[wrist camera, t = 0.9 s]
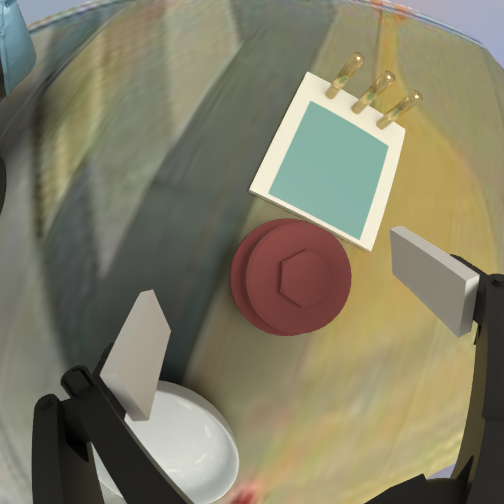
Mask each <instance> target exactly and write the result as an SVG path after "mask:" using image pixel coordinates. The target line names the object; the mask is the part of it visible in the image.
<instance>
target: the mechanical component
mask: <svg viewBox="0 0 504 504" xmlns="http://www.w3.org/2000/svg"><path fill="white" fill-rule="evenodd" d="M229 282H230V289H231V294H232V296H233V299H234V302H235V303H236V305H237V307H238V309H239V310H240V312H241V313H242V314H243V315H244V317H245V318H246V319H247V320H248V321H249V322H251V323H252V324H253V325H254V326H256V327H257V328H259V329H261V330H263V331H265V332H267V333H270V334H274V335H280V336H294V335H299V334H302V333H308V332H312V331H315V330H318V329H320V328H322V327H324V326H325V325H327V324H328V323H330V322H331V321H332V320H333V319H334V318H335V317H336V316H337V315H338V314H339V313H340V311H341V310H342V308H343V307H344V305H345V303H346V301H347V298H348V295H349V292H350V287H351V267H350V263H349V259H348V257H347V254H346V252H345V250H344V248H343V247H342V245H341V244H340V243H339V241H338V240H337V239H336V238H335V237H334V236H333V235H332V234H331V233H329V232H328V231H326V230H325V229H323V228H321V227H319V226H316V225H313V224H310V223H308V222H305V221H302V220H297V219H277V220H273V221H270V222H267V223H265V224H263V225H261V226H259V227H258V228H256V229H255V230H253V231H252V232H251V233H250V234H249V235H247V236H246V237H245V238H244V240H243V241H242V242H241V243H240V245H239V246H238V248H237V250H236V251H235V254H234V256H233V259H232V262H231V266H230V273H229Z"/></svg>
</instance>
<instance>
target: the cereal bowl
mask: <svg viewBox="0 0 504 504" xmlns="http://www.w3.org/2000/svg"><path fill="white" fill-rule="evenodd" d="M124 420H125V422H126V423H127V424H128V425H129V427H130V428H131V430H132V431H133V432H134V434H135V435H136V436H137V438H138V439H139V440H140V442H141V443H142V444H143V446H144V447H145V448H146V449H147V451H148V452H149V453H150V454H151V456H152V457H153V458H154V459H155V461H156V462H157V463H158V464H159V465H160V467H161V468H162V469H163V470H164V471H165V472H166V474H167V475H168V476H169V477H170V478H171V479H172V480H173V481H174V483H175V484H176V485H177V486H178V487H179V488H180V489H181V490H182V491H183V492H184V493H185V494H186V495H187V496H188V497H189V499H190V500H191V501H192V502H193V503H194V504H210V503H212V502H214V501H216V500H217V499H219V498H220V497H222V496H223V495H224V494H225V493H226V492H227V491H228V490H229V489H230V488H231V486H232V485H233V483H234V482H235V480H236V477H237V474H238V471H239V451H238V447H237V444H236V440H235V438H234V434H233V432H232V430H231V428H230V426H229V425H228V422H227V421H226V420H225V418H224V417H223V416H222V415H221V413H220V412H219V411H218V410H217V409H216V408H215V407H214V406H213V405H212V404H211V403H210V402H209V401H207V400H206V399H205V398H203V397H202V396H200V395H198V394H197V393H195V392H194V391H192V390H190V389H187V388H186V387H182V386H180V385H177V384H175V383H170V382H167V381H161V380H158V383H157V387H156V392H155V396H154V400H153V404H152V409H151V413H150V418H149V421H135V422H133V421H132V420H131V418H130V417H129V416H128V414H127V413H126V416H125V419H124ZM91 443H92V442H91ZM92 449H93V455H94V460H95V465H96V470H97V474H98V479H99V480H100V481H101V482H102V483H103V484H104V485H105V486H106V487H108V488H109V489H110V490H112V491H113V492H114V493H116V494H117V495H119V496H121V497H123V496H122V495H121V493H120V491H119V490H118V488H117V487H116V485H115V483H114V482H113V480H112V478H111V477H110V475H109V473H108V472H107V470H106V468H105V466H104V465H103V463H102V461H101V459H100V457H99V456H98V454H97V452H96V450H95V448H94V446H93V444H92Z"/></svg>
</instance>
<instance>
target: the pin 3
mask: <svg viewBox="0 0 504 504" xmlns="http://www.w3.org/2000/svg"><path fill="white" fill-rule="evenodd" d="M422 99H423V97H422V95H421V93H420V92H419V91H417V90H414V91H413V92H412V93H410V94H409V95H408V96H407V97H406V98H404V99H403V100H402V101H401V102H399V103H398V104H397V105H396V106H395V107H393V108H392V109H391V110H390V111H389V112H387V113H386V114H385V115H384V116H383V117H381V118H380V119H379V120H378V121H377V122H376V125H377V127H378V128H379V129H381V130H383V129H384V128H386V127H387V126H388V125H390V124H391V123H392V122H394V121H395V120H396V119H398V118H399V117H400V116H402V115H403V114H404V113H405V112H407V111H408V110H409V109H411V108H412V107H413V106H415V105H416V104H417V103H419V102H420V101H421V100H422Z"/></svg>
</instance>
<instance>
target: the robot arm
mask: <svg viewBox="0 0 504 504" xmlns="http://www.w3.org/2000/svg"><path fill="white" fill-rule="evenodd" d="M35 62H36V52H35V49H34V46H33V43H32V40H31V38H30V35H29V32H28V29H27V27H26V24H25V22H24V19H23V17H22V14H21V11H20V9H19V6H18V4H17V2H16V0H0V101H1V100H2V99H3V98H4V97H5V96H6V97H7V96H9V94H10V91H11V90H12V89H13V88H14V87H15V86H16V85H17V84H18V83H19V82H20V81H21V80H23V79H24V78H25V77H26V76H27V75H28V74H29V73H30V72H31V70H32V69H33V67H34V65H35ZM5 188H6V174H5V167H4V163H3V160H2V158H1V156H0V212H1V209H2V205H3V201H4V196H5ZM390 238H391V252H392V272H393V274H394V275H395V276H396V277H397V278H398V279H399V280H400V281H401V282H402V283H403V284H404V285H406V286H407V287H408V288H409V289H410V290H411V291H412V292H413V293H414V294H415V295H416V296H417V297H418V298H419V299H420V300H421V301H422V302H423V303H424V304H425V305H426V306H427V307H428V308H429V309H430V310H431V311H432V312H433V313H434V314H435V315H436V316H437V317H438V318H439V319H440V320H441V321H442V322H443V323H444V324H445V325H446V326H447V327H448V328H449V329H450V330H451V331H452V332H453V333H454V334H455V335H456V336H457V337H460V336H462V335H464V334H466V333H468V332H470V331H471V328H472V323H473V320H474V321H475V322H476V323H478V327H477V332H476V337H475V341H474V345H476V353H475V365H474V375H473V383H472V391H471V397H470V404H469V410H468V415H467V421H466V426H465V430H464V435H463V439H462V443H461V448H460V452H459V455H458V459H457V462H456V465H455V468H454V470H453V472H452V474H451V477H450V478H436V479H429V480H426V478H425V476H424V474H420V475H418V476H416V477H414V478H412V479H409V480H407V481H405V482H402V483H400V484H398V485H395V486H393V487H390V488H389V489H387V490H385V491H384V492H382V493H381V494H379V495H378V496H376V497H374V498H373V499H371V500H369V501H368V502H366V503H364V504H504V275H503V274H491V275H487V274H486V273H484V272H483V271H481V270H480V269H478V268H477V267H475V266H474V265H473V266H472V264H471V263H469V262H467V261H466V260H464V259H463V258H461V257H459V256H456V255H453V254H450V255H449V254H447V253H446V252H444V251H442V250H441V249H439V248H438V247H436V246H434V245H433V244H431V243H430V242H428V241H426V240H425V239H423V238H421V237H420V236H418V235H416V234H415V233H413V232H411V231H410V230H408V229H406V228H404V227H403V226H398V227H395V228H391V229H390ZM170 333H171V330H170V328H169V325H168V323H167V321H166V319H165V316H164V314H163V312H162V310H161V307H160V305H159V303H158V300H157V298H156V296H155V293H154V291H153V290H149V291H145V292H140V294H139V296H138V298H137V300H136V302H135V304H134V306H133V308H132V310H131V312H130V313H129V315H128V317H127V319H126V321H125V323H124V325H123V327H122V329H121V331H120V333H119V335H118V337H117V339H116V341H115V343H111V344H110V345H109V346H108V347H107V348H106V349H105V350H104V352H103V354H102V356H101V359H100V360H99V362H98V365H97V366H96V368H95V370H94V372H93V374H92V375H91V374H90V372H89V371H88V369H87V368H86V367H85V366H75V367H73V368H71V369H70V370H68V371H67V372H66V373H65V374H64V375H63V376H62V378H61V385H62V387H63V388H64V389H65V391H66V392H67V393H68V395H69V396H70V397H71V398H70V399H67V400H64V401H61V402H60V400H59V399H58V398H57V396H55V395H54V394H48V395H45V396H44V397H41V399H39V400H38V402H37V403H36V405H35V408H34V418H33V433H32V493H33V504H105V503H104V499H103V495H102V491H101V487H100V483H99V479H98V474H97V470H96V465H95V460H94V455H93V449H92V444H93V446H94V448H95V450H96V452H97V454H98V456H99V457H100V459H101V461H102V463H103V465H104V466H105V468H106V470H107V472H108V473H109V475H110V477H111V478H112V480H113V482H114V483H115V485H116V487H117V488H118V490H119V491H120V493H121V495H122V496H123V498H124V499H125V501H126V502H127V504H194V503H193V502H192V501H191V500H190V499H189V497H188V496H187V495H186V494H185V493H184V492H183V491H182V490H181V489H180V488H179V487H178V486H177V485H176V484H175V483H174V481H173V480H172V479H171V478H170V477H169V476H168V475H167V474H166V472H165V471H164V470H163V469H162V468H161V467H160V465H159V464H158V463H157V462H156V461H155V459H154V458H153V457H152V456H151V454H150V453H149V452H148V451H147V449H146V448H145V447H144V446H143V444H142V443H141V442H140V440H139V439H138V438H137V436H136V435H135V434H134V432H133V431H132V430H131V428H130V427H129V425H128V424H127V423H126V422H125V420H124V419H125V416H126V413H127V414H128V416H129V417H130V418H131V420H132V421H133V422H135V421H149V418H150V413H151V409H152V404H153V400H154V396H155V392H156V387H157V383H158V379H159V375H160V371H161V367H162V363H163V359H164V355H165V352H166V348H167V344H168V340H169V336H170ZM91 442H92V443H91Z"/></svg>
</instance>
